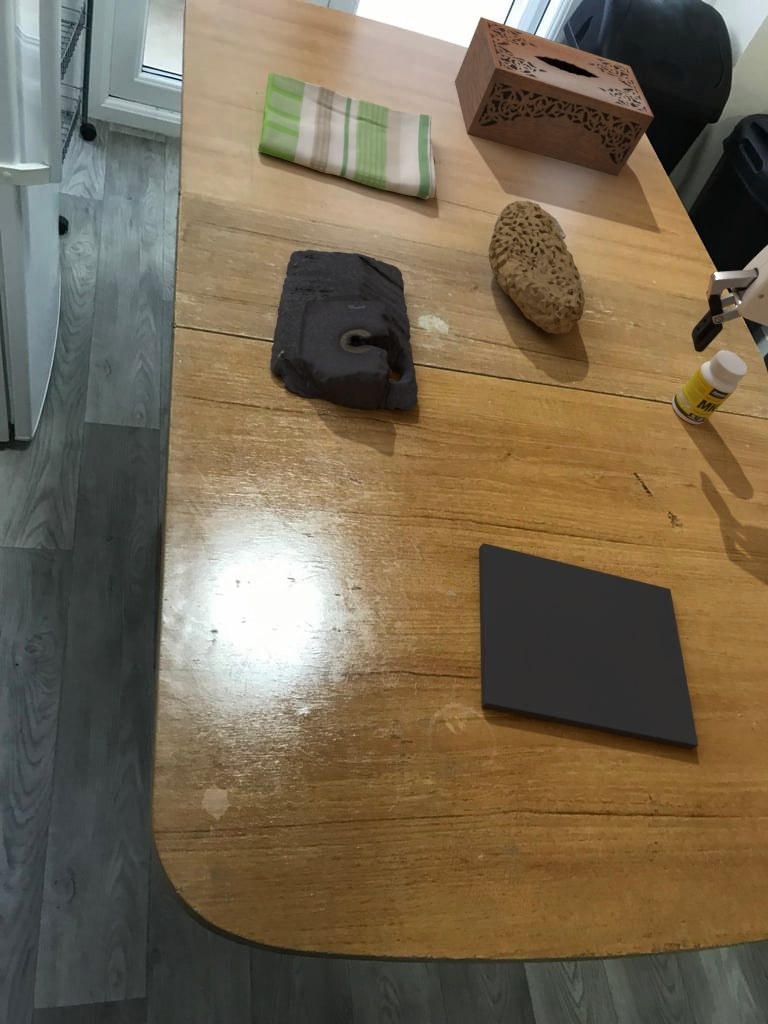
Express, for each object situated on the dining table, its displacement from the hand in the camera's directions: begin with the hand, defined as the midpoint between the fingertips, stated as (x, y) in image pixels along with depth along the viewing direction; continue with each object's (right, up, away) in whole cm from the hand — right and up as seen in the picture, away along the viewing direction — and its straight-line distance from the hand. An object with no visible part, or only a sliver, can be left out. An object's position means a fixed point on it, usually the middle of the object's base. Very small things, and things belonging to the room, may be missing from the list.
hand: (732, 355), depth 95 cm
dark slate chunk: (-43, +1, -5) cm, 44 cm away
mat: (-22, -30, -19) cm, 41 cm away
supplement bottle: (-3, -5, +7) cm, 9 cm away
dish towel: (-44, +31, +16) cm, 56 cm away
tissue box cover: (-16, +42, +36) cm, 58 cm away
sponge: (-22, +11, +11) cm, 26 cm away
